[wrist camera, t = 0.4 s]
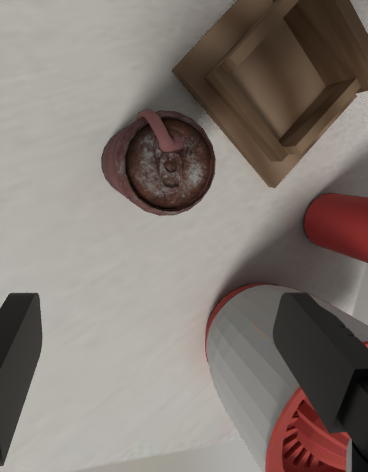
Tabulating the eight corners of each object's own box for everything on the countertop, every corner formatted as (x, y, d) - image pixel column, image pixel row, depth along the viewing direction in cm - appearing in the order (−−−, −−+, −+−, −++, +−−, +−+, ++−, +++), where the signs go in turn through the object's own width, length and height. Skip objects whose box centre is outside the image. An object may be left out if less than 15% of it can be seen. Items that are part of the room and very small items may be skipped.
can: (139, 115, 30) (184, 81, 17) (174, 172, 32) (238, 179, 19) (85, 151, 29) (91, 143, 16) (125, 206, 32) (158, 238, 19)
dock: (269, 187, 36) (312, 192, 30) (171, 70, 30) (198, 44, 24) (348, 98, 37) (408, 84, 30) (268, -34, 31) (320, -87, 24)
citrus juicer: (287, 387, 44) (439, 552, 25) (171, 378, 38) (261, 586, 19) (326, 282, 42) (522, 377, 23) (211, 254, 36) (353, 354, 17)
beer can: (341, 243, 41) (438, 273, 30) (298, 246, 39) (385, 280, 28) (347, 192, 40) (452, 203, 29) (303, 193, 38) (397, 206, 27)
